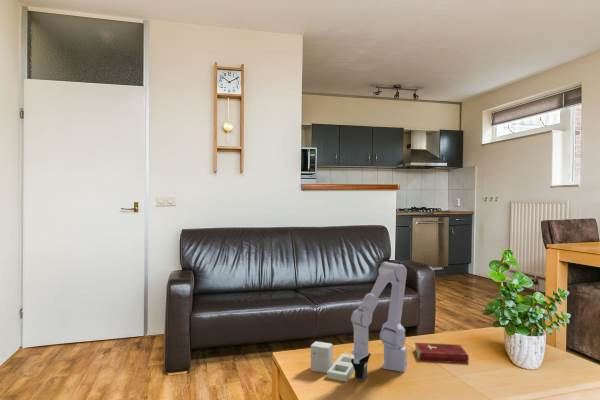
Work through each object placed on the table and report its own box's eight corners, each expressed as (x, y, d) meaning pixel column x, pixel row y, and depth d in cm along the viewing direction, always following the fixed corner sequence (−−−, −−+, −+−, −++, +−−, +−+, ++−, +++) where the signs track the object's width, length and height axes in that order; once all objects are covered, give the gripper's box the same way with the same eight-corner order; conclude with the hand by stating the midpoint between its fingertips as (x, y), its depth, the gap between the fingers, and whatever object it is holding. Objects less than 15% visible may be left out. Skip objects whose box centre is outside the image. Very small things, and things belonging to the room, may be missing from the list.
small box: (333, 368, 160) (333, 343, 160) (328, 374, 155) (328, 348, 155) (315, 365, 164) (315, 340, 164) (310, 370, 159) (310, 345, 159)
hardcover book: (468, 364, 166) (468, 354, 166) (419, 361, 169) (419, 351, 169) (460, 353, 178) (460, 344, 178) (414, 350, 181) (414, 341, 181)
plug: (367, 377, 153) (367, 362, 153) (364, 381, 149) (364, 366, 149) (357, 375, 154) (357, 360, 154) (354, 379, 151) (354, 364, 151)
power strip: (363, 356, 173) (363, 350, 173) (346, 381, 149) (346, 374, 149) (346, 353, 176) (346, 347, 176) (327, 377, 152) (327, 371, 152)
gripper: (356, 333, 160) (356, 365, 160) (346, 345, 147) (346, 380, 147) (372, 335, 157) (372, 368, 157) (364, 348, 144) (364, 384, 144)
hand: (361, 374), depth 152 cm, fingers open, 5 cm apart
